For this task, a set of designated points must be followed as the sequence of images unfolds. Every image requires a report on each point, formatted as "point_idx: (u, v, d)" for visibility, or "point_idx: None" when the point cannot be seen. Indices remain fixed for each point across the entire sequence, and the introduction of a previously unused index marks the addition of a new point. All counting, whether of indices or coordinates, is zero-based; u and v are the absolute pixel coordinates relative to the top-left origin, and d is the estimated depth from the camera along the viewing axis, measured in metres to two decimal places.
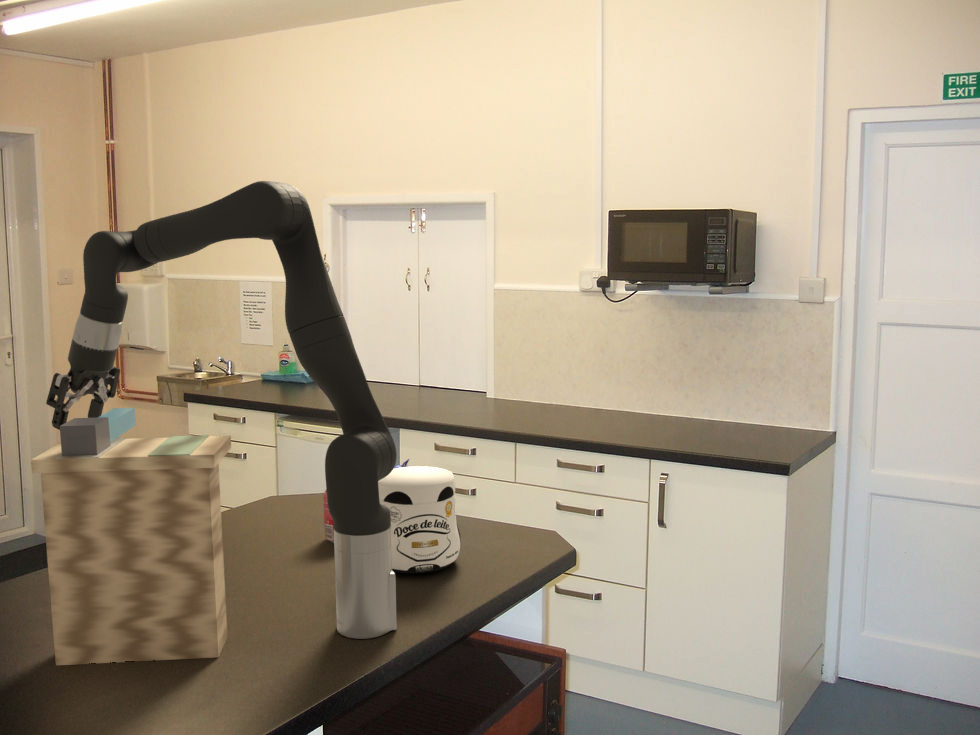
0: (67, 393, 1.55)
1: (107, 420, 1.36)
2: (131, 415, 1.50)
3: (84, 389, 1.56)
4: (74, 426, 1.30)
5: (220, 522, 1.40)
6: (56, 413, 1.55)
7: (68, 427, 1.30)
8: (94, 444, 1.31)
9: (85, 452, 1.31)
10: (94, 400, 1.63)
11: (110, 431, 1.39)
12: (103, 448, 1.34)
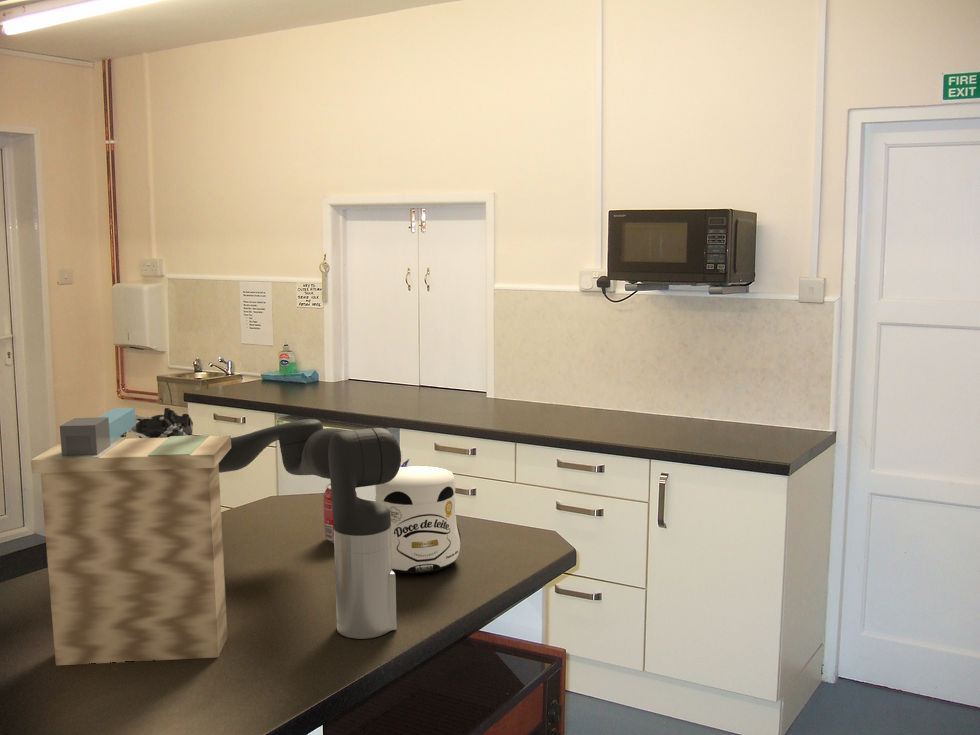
0: None
1: (107, 420, 1.36)
2: (131, 415, 1.50)
3: (164, 434, 1.70)
4: (74, 426, 1.30)
5: (220, 522, 1.40)
6: (175, 416, 1.67)
7: (68, 427, 1.30)
8: (94, 444, 1.31)
9: (85, 452, 1.31)
10: None
11: (110, 431, 1.39)
12: (103, 448, 1.34)
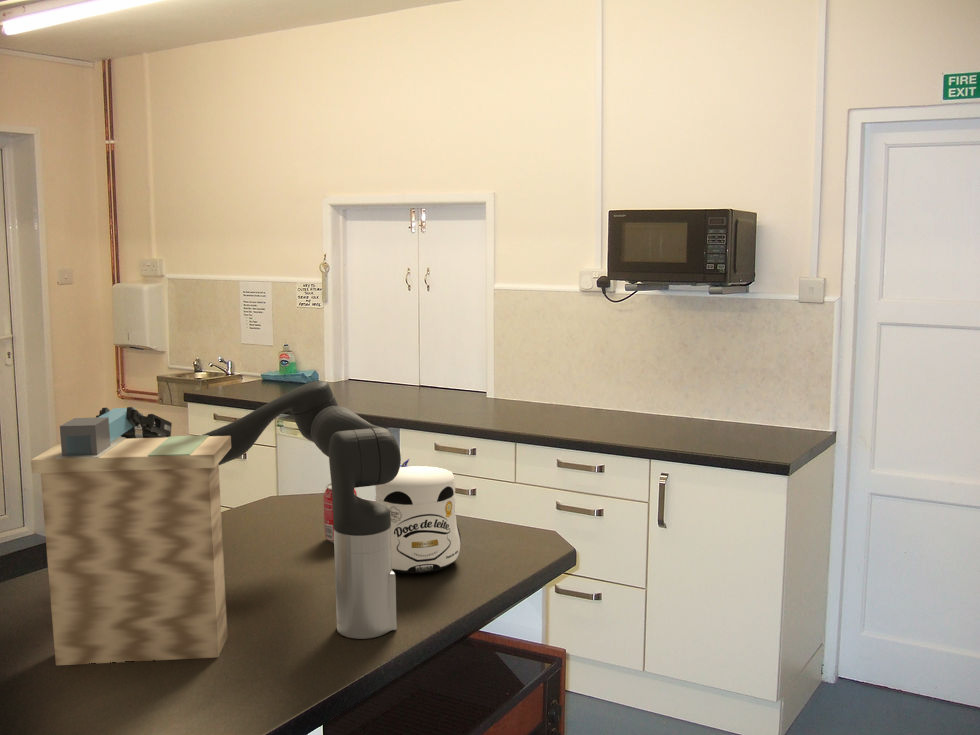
0: None
1: (107, 420, 1.36)
2: None
3: (139, 437, 1.55)
4: (74, 426, 1.30)
5: (220, 522, 1.40)
6: (139, 416, 1.51)
7: (68, 427, 1.30)
8: (94, 444, 1.31)
9: (85, 452, 1.31)
10: None
11: (110, 431, 1.39)
12: (103, 448, 1.34)
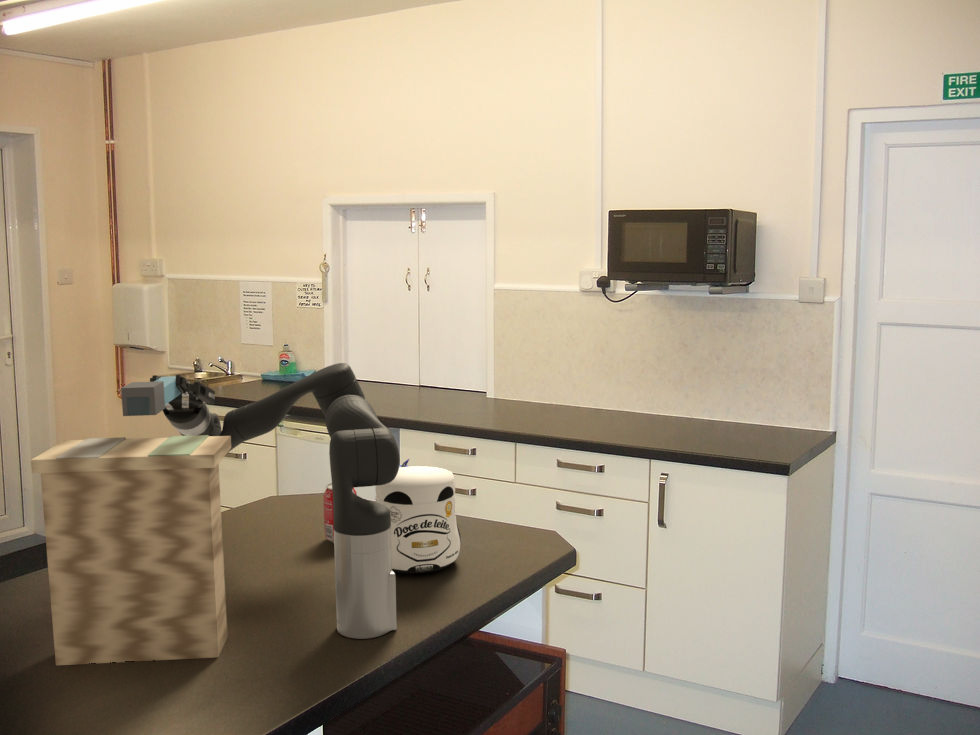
0: None
1: (162, 384, 1.46)
2: None
3: (185, 405, 1.65)
4: (134, 388, 1.40)
5: (220, 522, 1.40)
6: (186, 384, 1.61)
7: (129, 389, 1.40)
8: (153, 405, 1.41)
9: (144, 412, 1.41)
10: None
11: (163, 395, 1.49)
12: (160, 409, 1.44)
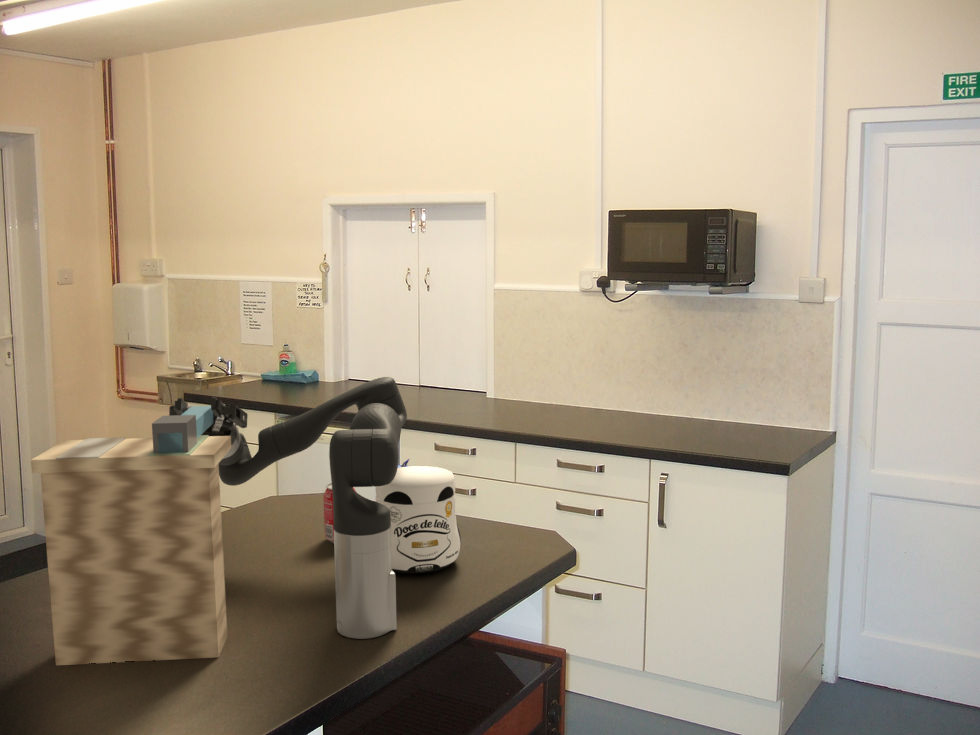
0: None
1: (195, 418, 1.37)
2: (210, 413, 1.51)
3: (216, 428, 1.56)
4: (166, 423, 1.32)
5: (220, 522, 1.40)
6: (222, 406, 1.52)
7: (160, 424, 1.31)
8: (185, 441, 1.32)
9: (176, 449, 1.32)
10: None
11: (195, 429, 1.41)
12: (192, 445, 1.35)
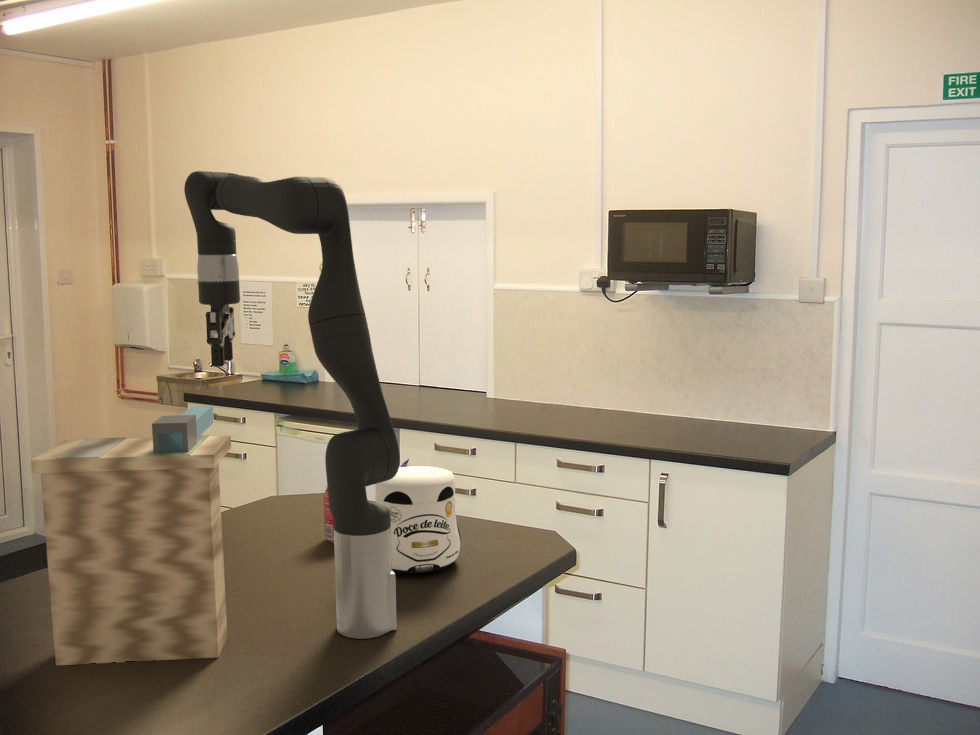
0: (216, 331, 1.67)
1: (195, 418, 1.37)
2: (210, 413, 1.51)
3: (227, 323, 1.68)
4: (166, 423, 1.32)
5: (220, 522, 1.40)
6: (215, 351, 1.66)
7: (160, 424, 1.31)
8: (185, 441, 1.32)
9: (176, 449, 1.32)
10: None
11: (195, 429, 1.41)
12: (192, 445, 1.35)
